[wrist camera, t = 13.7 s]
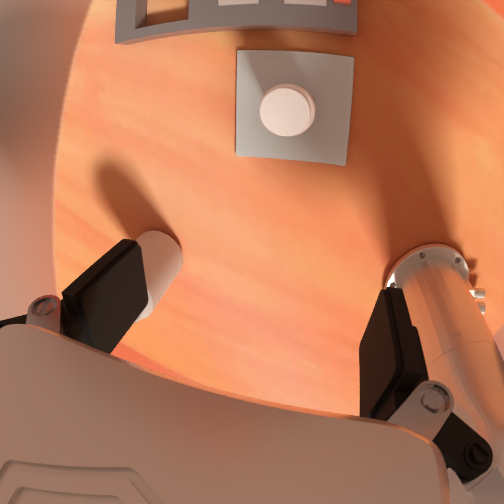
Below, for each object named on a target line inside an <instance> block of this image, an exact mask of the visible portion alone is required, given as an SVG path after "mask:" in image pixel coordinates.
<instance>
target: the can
mask: <svg viewBox="0 0 504 504" xmlns="http://www.w3.org/2000/svg"><path fill="white" fill-rule="evenodd" d="M135 241H137V242H138V245H140V246H141V249H142V257H143V264H144V272H145V278H146V285H147V292H148V298H149V300H148V304H147V306H146V308H145V309H144V310H143V311H142V313H141V314H140V315H139V317H138V318H137V319H136V320H135V322H138V321H139V320H140V319H143V318H146V317H148V316H149V315H150V314H151V313H152V311H153V310H154V308H155V307H156V305H157V304H158V302H159V301H160V299H161V298H162V296H163V295H164V293H165V292H166V290H167V289H168V287H169V286H170V285H171V283H172V282H173V280H174V279H175V277H176V276H177V274H178V273H179V271H180V270H181V268H182V265H183V254H182V252H181V249H180V247H179V246H178V244H177V243H176V241H175V240H174V239H172V238H171V237H170V236H169V235H167V234H165V233H163V232H161V231H155V230H151V231H146V232H144V233H143V234H141V235H140V236H139V237H138V238H137V239H136V240H135ZM135 322H134V323H135Z"/></svg>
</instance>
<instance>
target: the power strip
mask: <svg viewBox="0 0 504 504" xmlns="http://www.w3.org/2000/svg"><path fill="white" fill-rule="evenodd" d="M146 15H147V0H117V7H116V26H115V44H124V45H128V44H132V43H137V42H142V41H147V40H153V39H158V38H164V37H171V36H178V35H185V34H194V33H204V32H215V31H231V30H295V31H311V32H322V33H332V34H340V35H348V36H355V35H356V33H357V0H189V13H188V20H181V21H175V22H169V23H163V24H157V25H152V26H147V27H146Z"/></svg>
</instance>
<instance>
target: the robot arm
mask: <svg viewBox="0 0 504 504" xmlns="http://www.w3.org/2000/svg"><path fill="white" fill-rule="evenodd" d="M62 296H63V299H62V300H61V301H60V299H59V298H58V297H57V296H54V295H45V296H41V297H39V298H37V299H36V300H34V301H33V302H32V303H31V305H30V306H29V308H28V313H27V314H26V315H22V316H18V317H14V318H10V319H6V320H2V321H0V504H504V361H503V358H502V356H501V353H500V351H499V349H498V347H497V344H496V342H495V340H494V338H493V335H492V333H491V331H490V329H489V327H488V325H487V323H486V321H485V319H484V317H483V314H484V312H485V303H484V302H479V301H475V299H474V298H480V299H483V298H484V297H485V289H483V288H473V287H472V285H471V284H470V282H469V269H468V266H467V263H466V261H465V260H464V258H463V256H462V255H461V254H460V253H459V252H458V251H457V250H456V249H454V248H453V247H450V246H448V245H445V244H438V243H437V244H427V245H423V246H420V247H417V248H415V249H413V250H411V251H410V252H408V253H406V254H405V255H404V256H403V257H401V258H400V259H399V260H398V261H397V262H396V263H395V265H394V266H393V267H392V269H391V270H390V272H389V274H388V276H387V279H386V282H385V288H384V289H382V290H381V291H380V293H379V296H378V299H377V301H376V304H375V307H374V310H373V312H372V315H371V317H370V320H369V323H368V325H367V328H366V330H365V333H364V335H363V337H362V340H361V342H360V347H359V364H360V417H359V416H353V415H346V414H338V413H332V412H325V411H319V410H313V409H307V408H301V407H295V406H290V405H284V404H279V403H274V402H269V401H264V400H260V399H255V398H251V397H246V396H242V395H238V394H234V393H230V392H226V391H222V390H218V389H214V388H210V387H207V386H203V385H200V384H196V383H193V382H189V381H186V380H183V379H179V378H176V377H173V376H170V375H166V374H163V373H160V372H157V371H154V370H151V369H148V368H146V367H142V366H140V365H137V364H134V363H131V362H129V361H126V360H123V359H120V358H118V357H115V356H113V355H110V353H111V352H112V351H113V349H114V348H115V347H116V345H117V344H118V343H119V341H120V340H121V339H122V337H123V336H124V335H125V334H126V332H127V331H128V330H129V328H130V327H131V326H132V324H133V323H134V322H135V320H136V319H137V318H138V317H139V315H140V314H141V313H142V311H143V310H144V309H145V308H146V306H147V304H148V300H149V298H148V292H147V285H146V278H145V272H144V264H143V257H142V249H141V246H140V245H138V242H137V241H134V240H129V239H123V240H121V241H120V242H119V243H117V244H116V245H115V246H114V247H113V248H111V249H110V250H109V251H108V252H107V253H106V254H104V255H103V256H102V257H101V258H100V259H98V260H97V261H96V262H95V263H94V264H93V265H92V266H90V267H89V268H88V269H87V270H86V271H85V272H84V273H82V274H81V275H80V276H79V277H78V278H77V279H76V280H75V281H74V282H72V283H71V284H70V285H69V286H68V287H67V288H66V289H65V290H64V291H63V292H62Z"/></svg>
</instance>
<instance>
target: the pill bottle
mask: <svg viewBox="0 0 504 504" xmlns="http://www.w3.org/2000/svg"><path fill="white" fill-rule="evenodd" d="M315 110H316V104H315V100H314V98H313V96H312V95H311V93H310V92H309V91H308V90H307V89H305V88H304V87H302V86H299V85H295V84H288V83H286V84H279V85H276V86H274V87H272V88H271V89H270V90H268V91H267V92H266V94H265V95H264V96H263V98H262V101H261V104H260V109H259V113H260V118H261V121H262V123H263V124H264V126H265V127H266V128H267V129H268V130H269V131H271V132H272V133H274V134H277V135H280V136H295V135H298V134H301V133H303V132H304V131H306V130H307V129H308V128H309V127H310V126H311V124H312V123H313V121H314V118H315Z"/></svg>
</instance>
